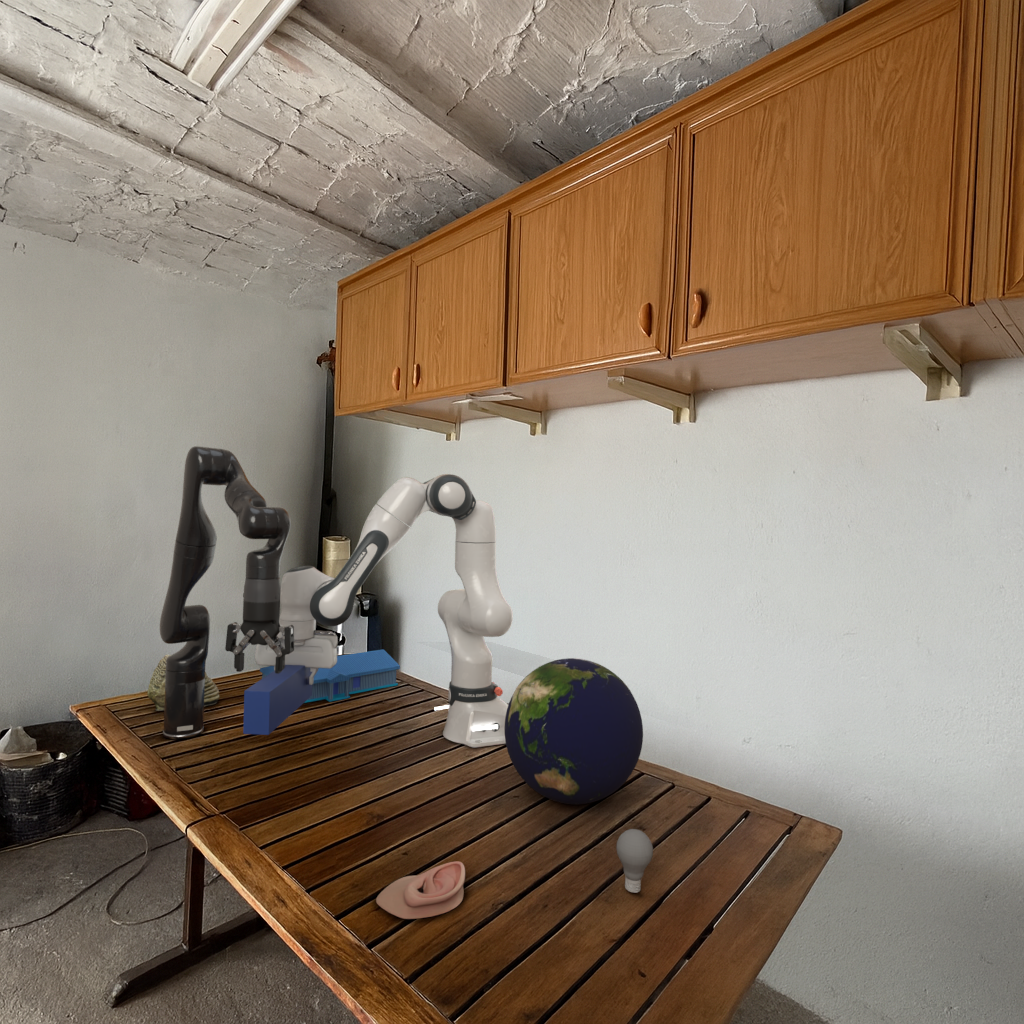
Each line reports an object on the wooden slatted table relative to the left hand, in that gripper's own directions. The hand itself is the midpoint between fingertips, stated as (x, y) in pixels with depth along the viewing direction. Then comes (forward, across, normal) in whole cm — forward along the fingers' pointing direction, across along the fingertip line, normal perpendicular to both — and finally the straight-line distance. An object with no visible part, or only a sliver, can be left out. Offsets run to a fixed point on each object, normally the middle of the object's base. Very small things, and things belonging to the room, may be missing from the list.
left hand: (259, 671), depth 139 cm
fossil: (+25, +40, -45) cm, 65 cm away
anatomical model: (+24, -43, +37) cm, 62 cm away
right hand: (+9, 0, -23) cm, 25 cm away
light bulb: (+24, -78, +32) cm, 87 cm away
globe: (+24, -69, 0) cm, 73 cm away
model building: (+25, +4, -69) cm, 73 cm away
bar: (+14, 0, -13) cm, 19 cm away
